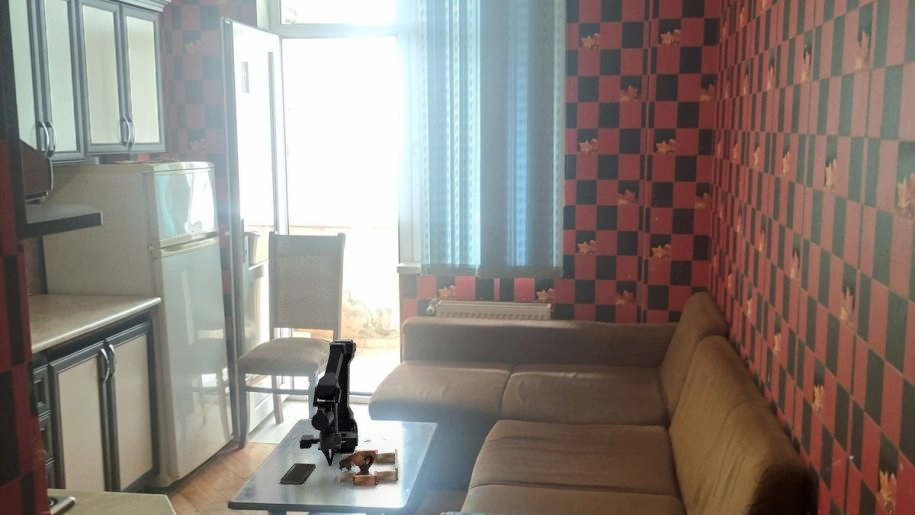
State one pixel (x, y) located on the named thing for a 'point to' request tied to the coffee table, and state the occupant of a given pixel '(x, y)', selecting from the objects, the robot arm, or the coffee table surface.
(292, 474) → the phone
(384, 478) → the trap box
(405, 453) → the coffee table surface
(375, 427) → the coffee table surface
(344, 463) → the pottery mug
